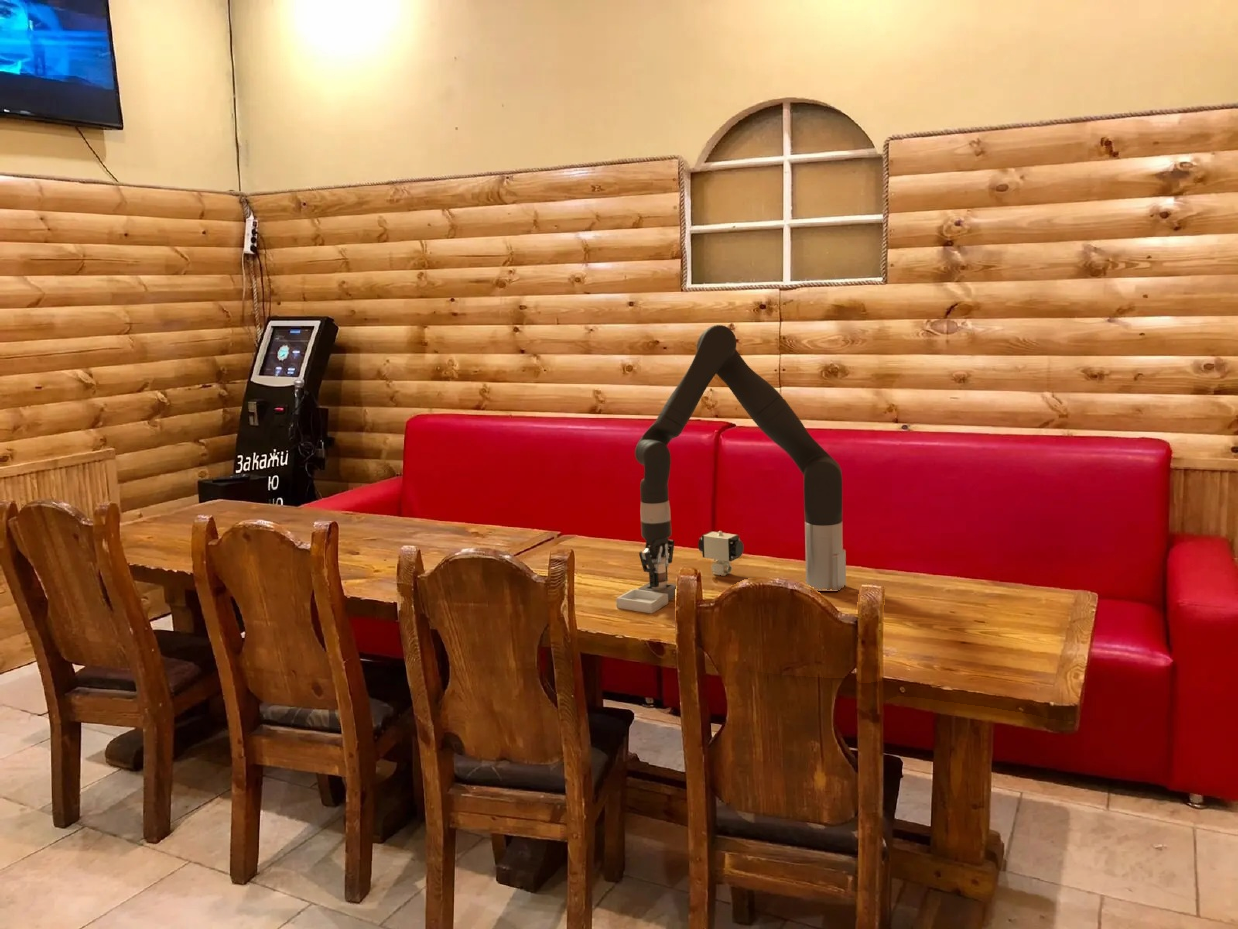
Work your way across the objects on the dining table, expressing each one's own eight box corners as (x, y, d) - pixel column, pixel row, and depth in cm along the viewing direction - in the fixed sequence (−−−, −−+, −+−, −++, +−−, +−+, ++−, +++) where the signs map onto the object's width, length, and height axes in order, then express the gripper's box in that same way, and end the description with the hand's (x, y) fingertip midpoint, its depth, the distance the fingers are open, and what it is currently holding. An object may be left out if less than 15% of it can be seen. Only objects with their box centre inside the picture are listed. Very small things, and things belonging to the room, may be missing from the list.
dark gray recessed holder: (679, 594, 241) (679, 584, 241) (665, 602, 235) (665, 592, 235) (652, 590, 246) (652, 580, 245) (638, 598, 240) (638, 588, 239)
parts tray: (668, 603, 235) (667, 593, 234) (651, 613, 228) (651, 603, 228) (634, 598, 240) (633, 588, 240) (616, 607, 233) (616, 598, 233)
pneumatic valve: (736, 579, 251) (734, 535, 249) (698, 573, 258) (697, 530, 256) (746, 574, 255) (745, 530, 253) (709, 568, 262) (707, 526, 260)
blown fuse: (670, 594, 241) (668, 556, 239) (662, 598, 238) (660, 560, 236) (656, 592, 243) (654, 554, 241) (648, 596, 240) (646, 558, 238)
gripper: (653, 526, 229) (657, 594, 232) (682, 513, 241) (685, 578, 244) (627, 523, 233) (631, 590, 236) (657, 511, 245) (660, 574, 248)
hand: (658, 583), depth 240 cm, fingers closed on blown fuse, 4 cm apart
